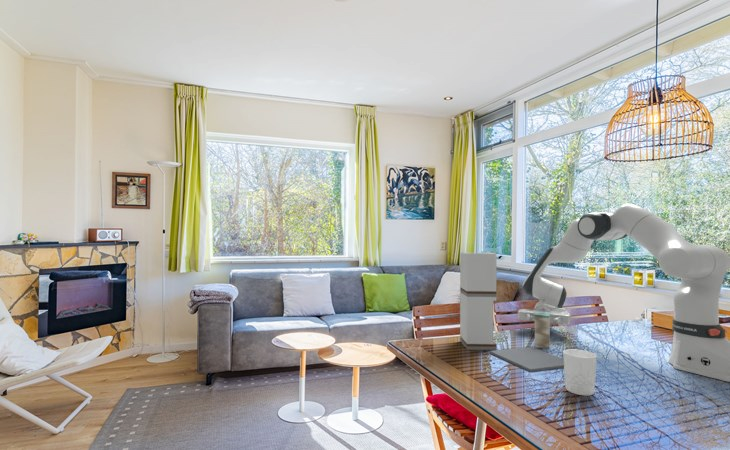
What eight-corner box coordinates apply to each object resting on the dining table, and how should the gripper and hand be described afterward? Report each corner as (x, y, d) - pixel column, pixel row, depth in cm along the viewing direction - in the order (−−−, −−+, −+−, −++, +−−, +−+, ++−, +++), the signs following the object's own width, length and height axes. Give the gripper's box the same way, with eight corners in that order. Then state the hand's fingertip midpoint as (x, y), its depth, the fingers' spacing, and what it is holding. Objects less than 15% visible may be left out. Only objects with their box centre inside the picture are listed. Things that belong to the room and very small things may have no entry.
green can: (549, 345, 150) (549, 313, 151) (549, 348, 146) (549, 315, 146) (535, 343, 152) (535, 312, 153) (534, 346, 148) (534, 314, 148)
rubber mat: (576, 366, 126) (576, 363, 126) (530, 371, 120) (530, 369, 120) (531, 349, 145) (531, 346, 145) (489, 353, 139) (489, 351, 139)
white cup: (567, 383, 111) (566, 347, 112) (599, 390, 106) (599, 352, 107) (560, 391, 105) (559, 353, 105) (593, 399, 100) (593, 359, 100)
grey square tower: (496, 350, 143) (496, 253, 144) (467, 349, 144) (467, 253, 145) (487, 341, 155) (487, 252, 156) (460, 341, 155) (460, 252, 156)
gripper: (518, 304, 177) (515, 309, 165) (569, 308, 168) (570, 314, 156) (518, 318, 177) (515, 324, 165) (569, 323, 168) (570, 330, 156)
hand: (542, 319), depth 160 cm, fingers open, 8 cm apart
